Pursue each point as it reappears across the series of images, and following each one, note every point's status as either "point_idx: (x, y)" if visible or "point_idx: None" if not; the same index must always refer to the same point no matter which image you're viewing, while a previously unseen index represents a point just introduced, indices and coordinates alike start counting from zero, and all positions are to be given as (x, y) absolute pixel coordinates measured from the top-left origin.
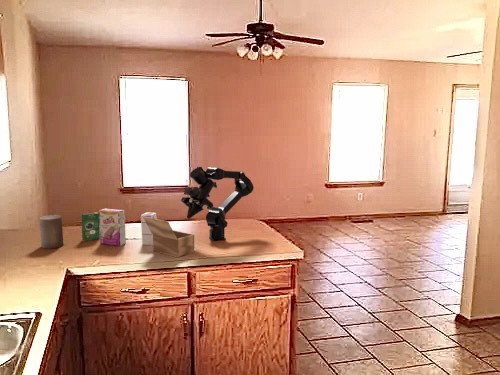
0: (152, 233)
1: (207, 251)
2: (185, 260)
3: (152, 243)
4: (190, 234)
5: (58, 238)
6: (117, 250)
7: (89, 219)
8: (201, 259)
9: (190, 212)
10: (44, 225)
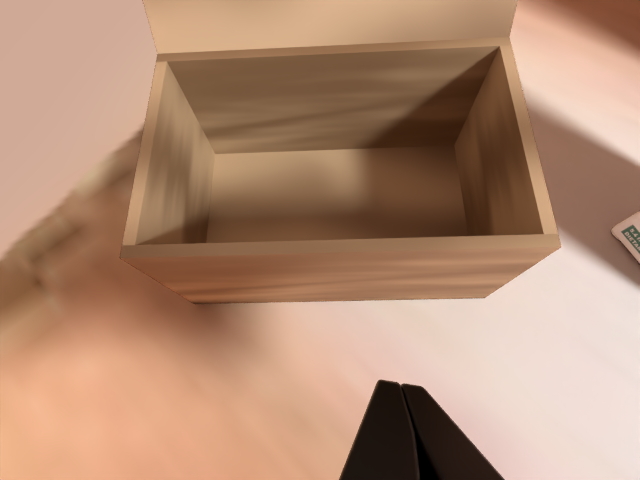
0: (497, 24)
1: (124, 399)
2: (130, 146)
3: (622, 221)
4: (170, 244)
5: None
6: (624, 21)
7: None
8: (50, 221)
9: (345, 476)
10: None
